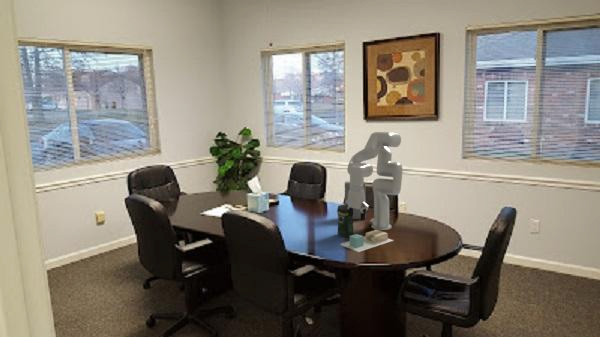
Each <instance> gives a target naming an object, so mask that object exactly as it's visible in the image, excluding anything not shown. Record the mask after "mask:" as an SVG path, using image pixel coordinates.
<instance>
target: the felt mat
mask: <svg viewBox="0 0 600 337" xmlns="http://www.w3.org/2000/svg"><path fill="white" fill-rule="evenodd" d="M394 241H395V240H394V239H390V238H388V240H386V241H383V242H379V243H374V242H371V241H369V240H366V235H365V236H364V246H361V247H358V248H355V247H353V246H350V240H349V241H346V242H342V243H339V245H341V246H342V247H345V248H348V249H350V250H352V251H355V252H357V253H360V252H363V251H366V250H369V249H372V248H375V247H378V246H381V245H384V244H387V243H390V242H394Z"/></svg>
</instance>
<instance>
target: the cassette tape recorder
mask: <svg viewBox="0 0 600 337" xmlns="http://www.w3.org/2000/svg"><path fill="white" fill-rule="evenodd" d="M349 185H350V181H344V205H346V202H345V201H346V200H348V192H349V189H350V186H349ZM364 193H365V194H366V181H364ZM346 206H347V205H346ZM362 210H363V209H362ZM366 217H367V215H366V213H365V219H364V220H366ZM353 220H361V211H360V209H354V208H353Z"/></svg>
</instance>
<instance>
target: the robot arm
mask: <svg viewBox="0 0 600 337" xmlns="http://www.w3.org/2000/svg"><path fill="white" fill-rule="evenodd" d="M401 142H402V137H401V135H400V134H399V133H397V132H389V131H387V132H386V131H375V132H373V133H371V134H370V135H369V137H368V140H367V141H366V143H365V146H364V148H363V149H361V150H359V151H357V152H356V153H355V154H354V155H353V156H352V157H351V159H350V160H349V162H348V164H347V167H346V168H347V174H348V175H349V182H350V185H349V186H350V189H349V192H348V200H346V201H345V200H344V203H345V202H346V205H347V207H348V216H353V209H352V208H354V209H360V211H361V219H360V221H364V220H366V219H365V214H366V213H367V211H368V210H369V204H367V203H366V192H365V193H364V182H365V180H364V179H365V178H368V177H370V176H372V174H373V172H374V167H373V166H372V165H371V164H370V163H365V162H366V161H369V160H372V159H374V158H376V157H377V162H376V175H378V178H376V179H374V180H373V181H372V184H371V186H372V192H373V217H372V218H371V219H369V221H370V222H371V223H372V224H371V225H370V226H371V228H372V229H374V230H379V231H388V230H391V229H392V228H393V227H392V224H391V223H390V199H389V197H388V196H389V195H390V196H398V195H399V194H400V193H401V189H402V181H403V171H404V170H403V165H402V164H401V162H398V161H392V159H393V158H392V157H393V156H392V155H393V154H392V151H391V149H390V148H397V147H399V146H401ZM379 176H380V177H386V178H379ZM391 178H392V179H391ZM362 209H363V210H362Z"/></svg>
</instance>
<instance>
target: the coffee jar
mask: <svg viewBox="0 0 600 337" xmlns="http://www.w3.org/2000/svg"><path fill="white" fill-rule="evenodd" d="M352 209H353V208H352ZM336 212H337V235H338V236H340V237H341V238H350V236H352V235H355V234H354V219H353V216H348V207H347V206H346V205H345V204H340V205H337V210H336Z"/></svg>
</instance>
